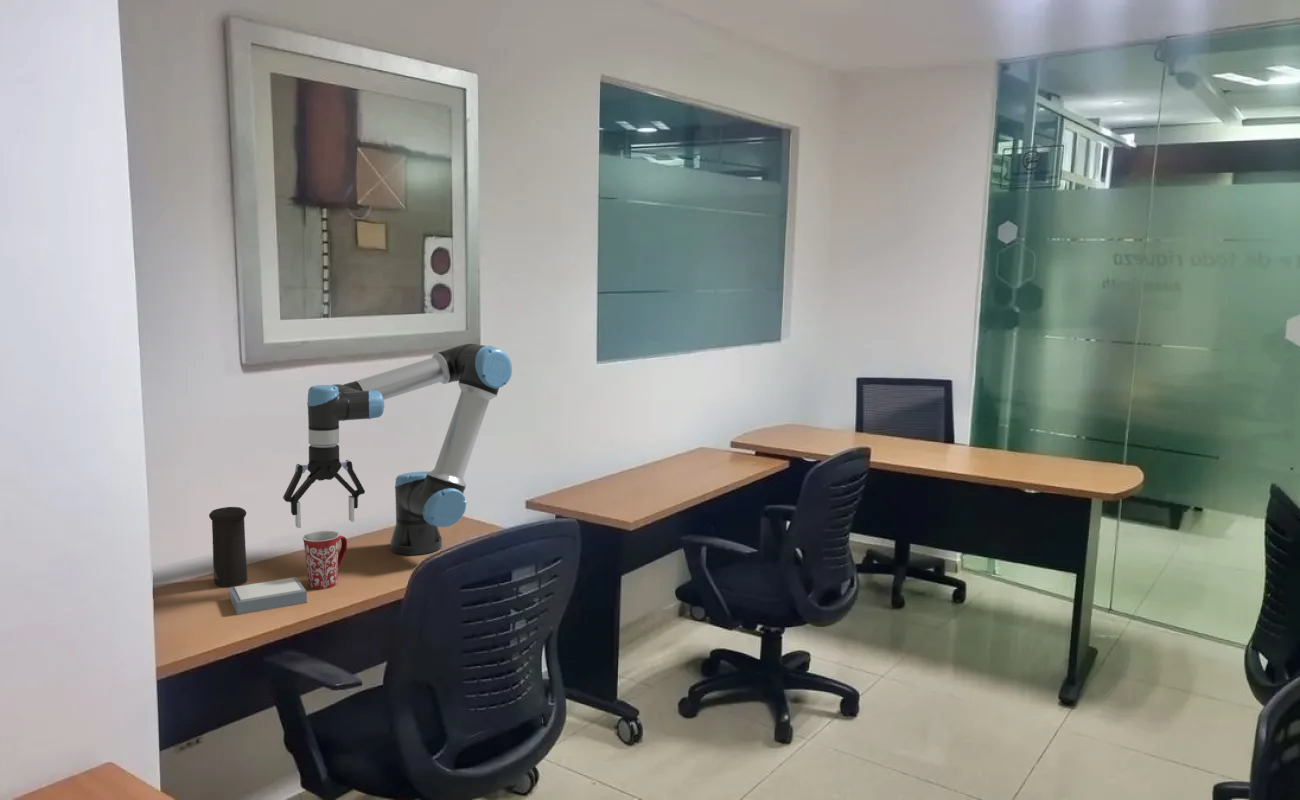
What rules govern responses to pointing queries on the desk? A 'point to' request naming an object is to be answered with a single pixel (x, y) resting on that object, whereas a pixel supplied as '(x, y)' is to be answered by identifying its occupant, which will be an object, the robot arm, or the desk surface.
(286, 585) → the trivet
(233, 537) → the container
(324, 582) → the mug
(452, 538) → the desk surface
